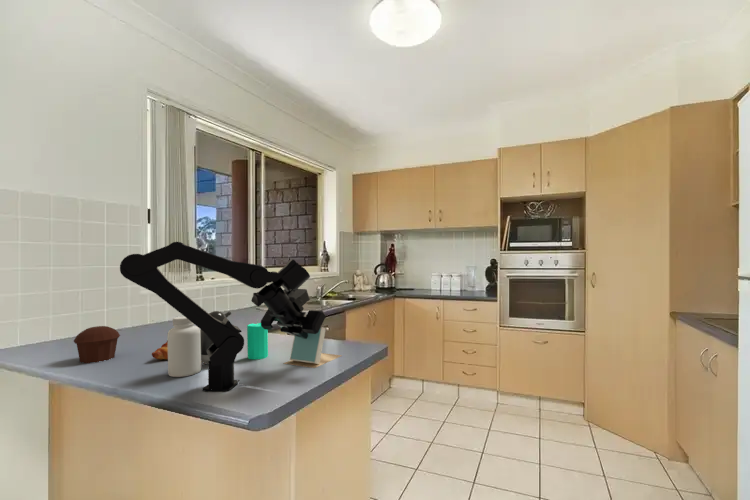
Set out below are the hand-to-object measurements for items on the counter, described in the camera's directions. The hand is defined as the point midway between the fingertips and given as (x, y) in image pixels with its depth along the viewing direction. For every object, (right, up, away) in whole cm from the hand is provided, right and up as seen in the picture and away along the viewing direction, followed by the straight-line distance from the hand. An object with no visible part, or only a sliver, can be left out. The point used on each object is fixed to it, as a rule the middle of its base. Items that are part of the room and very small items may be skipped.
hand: (306, 337), depth 107 cm
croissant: (-42, -9, +14) cm, 46 cm away
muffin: (-67, -9, +10) cm, 68 cm away
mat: (+2, -8, +3) cm, 9 cm away
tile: (0, -7, -1) cm, 7 cm away
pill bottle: (-32, -8, -6) cm, 33 cm away
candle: (-16, -8, +7) cm, 20 cm away
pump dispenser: (-27, -8, +4) cm, 29 cm away
